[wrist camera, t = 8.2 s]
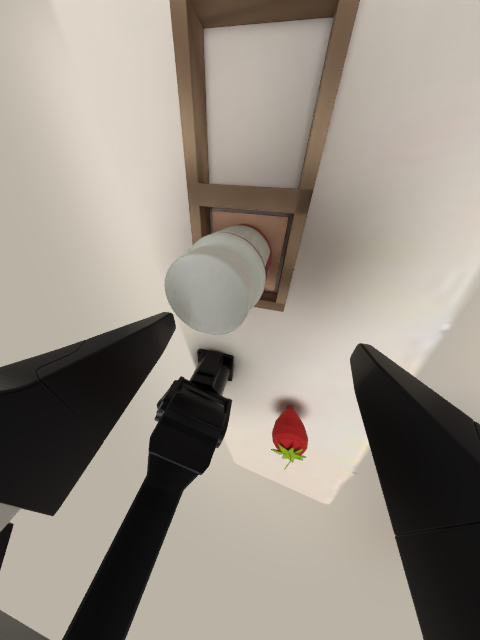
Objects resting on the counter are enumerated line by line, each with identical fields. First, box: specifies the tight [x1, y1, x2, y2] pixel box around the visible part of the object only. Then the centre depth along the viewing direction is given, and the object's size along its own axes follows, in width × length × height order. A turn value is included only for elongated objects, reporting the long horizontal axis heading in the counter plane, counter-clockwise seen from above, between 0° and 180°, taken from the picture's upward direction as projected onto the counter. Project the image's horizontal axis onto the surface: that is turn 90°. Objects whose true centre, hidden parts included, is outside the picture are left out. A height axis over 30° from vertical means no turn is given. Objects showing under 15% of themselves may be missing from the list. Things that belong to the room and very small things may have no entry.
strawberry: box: [271, 406, 308, 470], centre depth 29 cm, size 6×8×10 cm
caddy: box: [170, 0, 360, 312], centre depth 15 cm, size 20×10×2 cm, turn 176°
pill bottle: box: [165, 224, 272, 335], centre depth 14 cm, size 6×6×11 cm
